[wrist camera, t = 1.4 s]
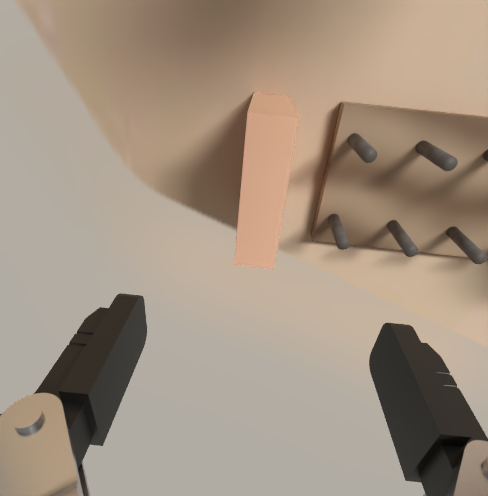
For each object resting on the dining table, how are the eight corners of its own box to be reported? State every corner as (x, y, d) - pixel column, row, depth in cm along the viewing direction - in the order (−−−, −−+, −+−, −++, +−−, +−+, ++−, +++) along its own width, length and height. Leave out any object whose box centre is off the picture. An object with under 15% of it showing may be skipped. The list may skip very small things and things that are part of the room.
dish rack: (341, 101, 25) (359, 113, 20) (583, 127, 25) (660, 145, 20) (310, 234, 31) (318, 267, 27) (504, 255, 31) (547, 292, 26)
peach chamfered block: (253, 92, 25) (247, 111, 17) (289, 96, 25) (299, 117, 17) (242, 208, 30) (233, 264, 22) (272, 211, 30) (273, 269, 22)
